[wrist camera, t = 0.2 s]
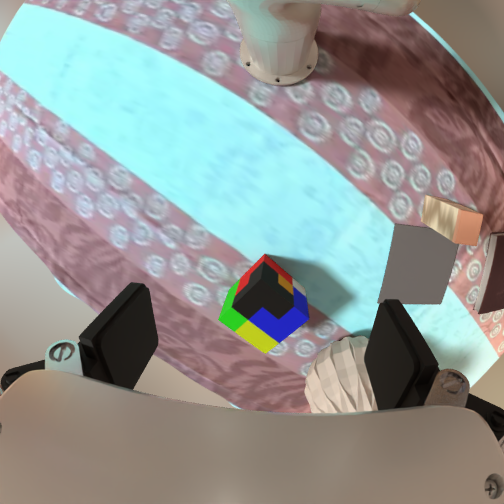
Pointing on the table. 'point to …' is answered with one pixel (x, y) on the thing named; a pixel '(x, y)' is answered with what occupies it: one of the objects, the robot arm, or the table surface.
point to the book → (492, 277)
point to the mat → (417, 266)
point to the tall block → (452, 220)
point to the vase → (340, 379)
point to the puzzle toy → (265, 305)
